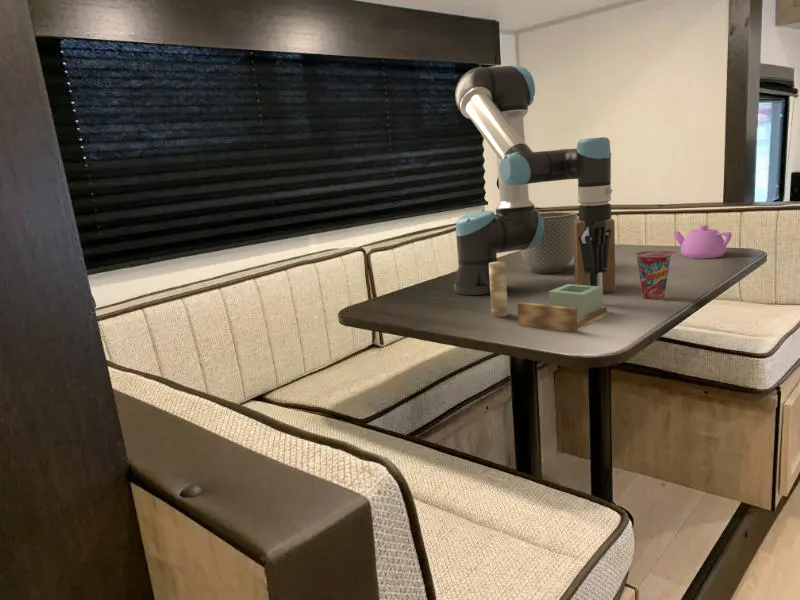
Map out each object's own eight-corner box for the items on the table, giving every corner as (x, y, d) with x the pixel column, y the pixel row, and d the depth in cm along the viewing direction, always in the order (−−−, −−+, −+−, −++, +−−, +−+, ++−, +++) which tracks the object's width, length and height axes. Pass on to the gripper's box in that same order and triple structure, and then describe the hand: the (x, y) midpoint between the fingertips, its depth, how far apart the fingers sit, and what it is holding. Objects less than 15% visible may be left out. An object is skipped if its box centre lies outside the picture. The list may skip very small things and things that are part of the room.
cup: (650, 304, 148) (650, 257, 145) (628, 298, 156) (628, 253, 153) (682, 299, 150) (682, 252, 147) (658, 293, 158) (659, 248, 155)
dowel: (488, 319, 147) (485, 264, 144) (497, 315, 150) (495, 261, 147) (502, 321, 145) (499, 264, 142) (511, 317, 147) (508, 261, 144)
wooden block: (615, 292, 164) (614, 219, 159) (577, 294, 166) (576, 222, 161) (610, 284, 173) (609, 216, 169) (574, 286, 175) (573, 218, 171)
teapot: (683, 251, 216) (684, 222, 214) (740, 255, 200) (742, 223, 198) (662, 257, 209) (662, 226, 206) (719, 261, 193) (720, 228, 190)
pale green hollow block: (549, 315, 142) (548, 291, 141) (568, 307, 148) (567, 283, 147) (584, 320, 136) (583, 294, 134) (602, 311, 142) (602, 286, 141)
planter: (569, 276, 189) (567, 217, 185) (510, 275, 200) (507, 218, 195) (585, 265, 205) (584, 210, 201) (530, 265, 216) (528, 212, 212)
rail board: (518, 328, 137) (517, 303, 136) (560, 309, 150) (559, 286, 149) (574, 336, 128) (573, 309, 126) (613, 315, 141) (613, 291, 139)
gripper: (596, 206, 137) (598, 305, 142) (621, 200, 146) (622, 294, 151) (567, 206, 142) (569, 302, 147) (592, 201, 151) (594, 291, 156)
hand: (596, 298), depth 149 cm, fingers closed
